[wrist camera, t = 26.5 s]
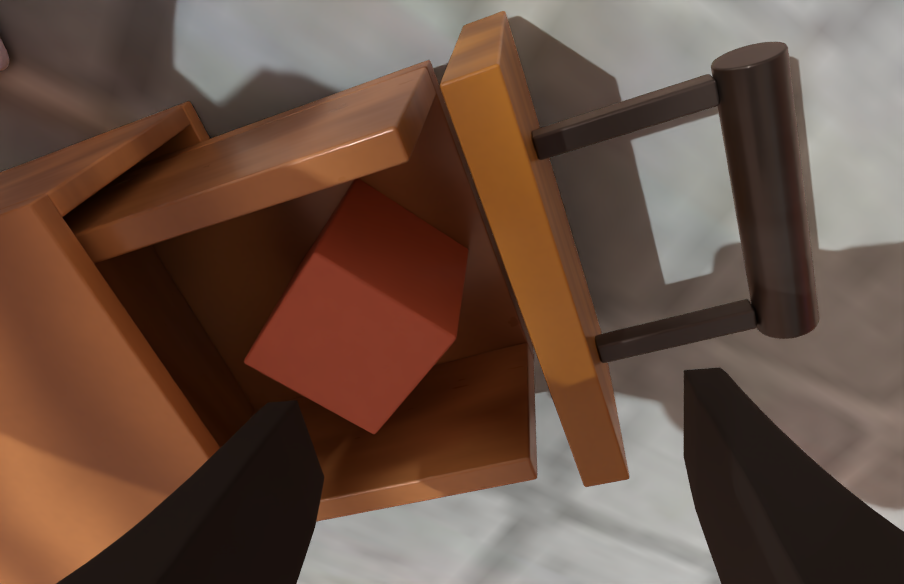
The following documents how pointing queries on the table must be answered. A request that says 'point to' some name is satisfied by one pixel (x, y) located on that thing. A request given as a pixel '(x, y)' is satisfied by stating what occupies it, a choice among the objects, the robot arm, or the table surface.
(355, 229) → the block
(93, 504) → the cabinet
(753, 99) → the drawer
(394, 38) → the table surface
